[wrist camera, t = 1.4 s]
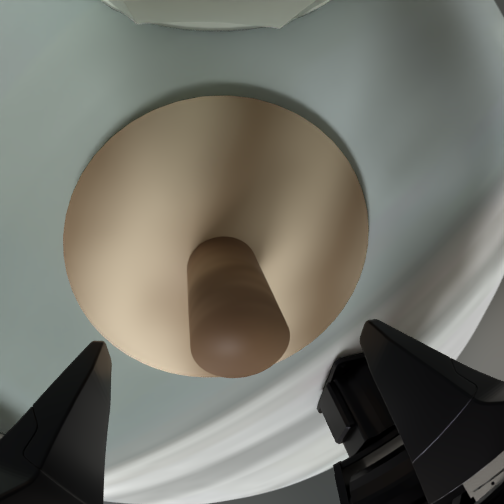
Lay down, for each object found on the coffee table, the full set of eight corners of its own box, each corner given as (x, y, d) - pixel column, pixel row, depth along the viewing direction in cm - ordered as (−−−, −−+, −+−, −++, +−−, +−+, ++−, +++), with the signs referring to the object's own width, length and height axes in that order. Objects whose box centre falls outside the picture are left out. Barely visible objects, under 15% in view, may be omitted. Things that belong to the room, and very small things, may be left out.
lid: (378, 117, 13) (470, 134, 7) (329, 351, 19) (367, 418, 14) (57, 109, 9) (-26, 116, 4) (104, 367, 16) (92, 447, 11)
